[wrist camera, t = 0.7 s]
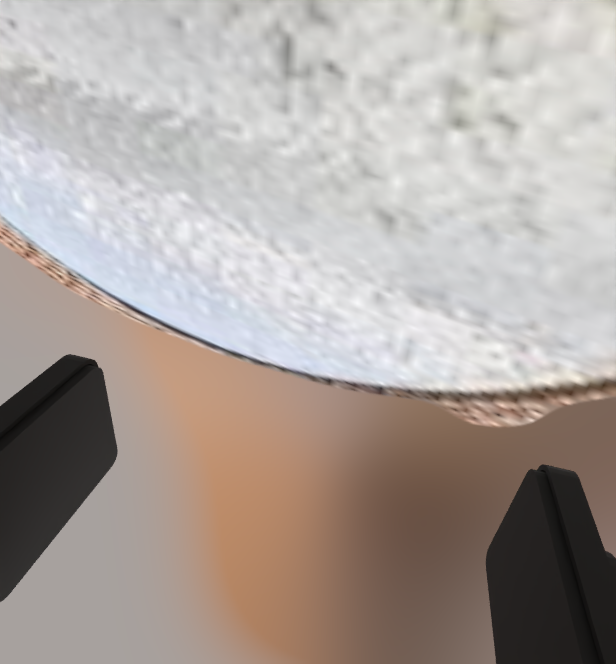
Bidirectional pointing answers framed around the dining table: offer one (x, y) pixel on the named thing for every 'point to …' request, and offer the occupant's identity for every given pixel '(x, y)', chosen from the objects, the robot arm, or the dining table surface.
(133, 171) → the dining table surface
